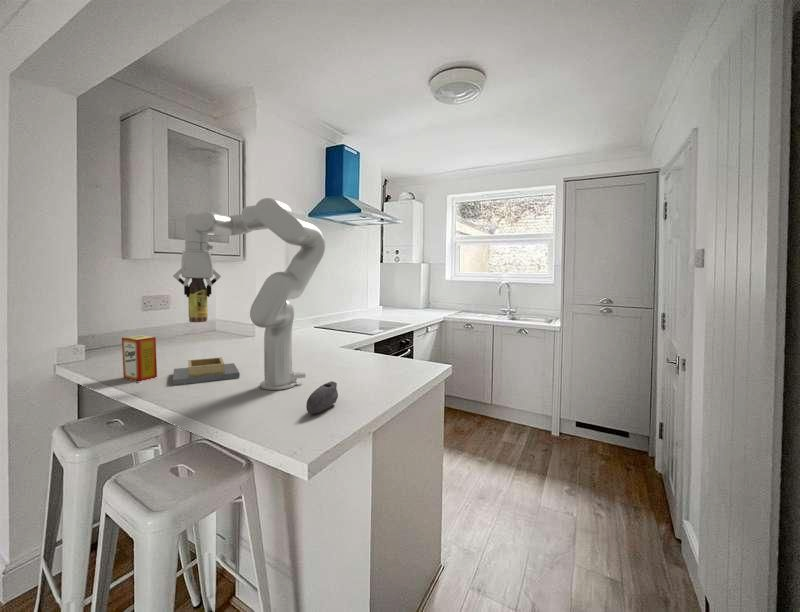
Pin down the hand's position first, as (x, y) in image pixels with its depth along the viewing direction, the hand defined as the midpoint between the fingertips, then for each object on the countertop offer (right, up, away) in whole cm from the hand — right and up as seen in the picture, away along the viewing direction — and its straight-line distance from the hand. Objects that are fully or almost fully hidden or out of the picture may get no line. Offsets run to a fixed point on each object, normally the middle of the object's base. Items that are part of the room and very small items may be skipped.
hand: (198, 296), depth 139 cm
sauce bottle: (0, -10, +1) cm, 10 cm away
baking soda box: (-24, -31, +4) cm, 40 cm away
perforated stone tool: (+52, -35, -27) cm, 68 cm away
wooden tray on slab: (-1, -31, +8) cm, 32 cm away
